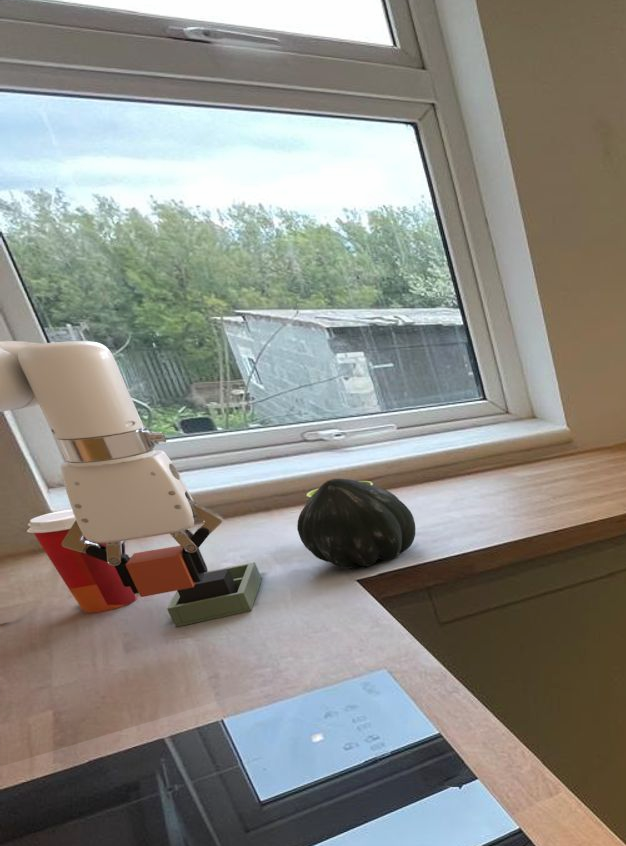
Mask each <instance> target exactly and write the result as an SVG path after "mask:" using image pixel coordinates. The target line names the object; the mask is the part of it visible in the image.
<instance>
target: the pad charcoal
mask: <svg viewBox="0 0 626 846" xmlns="http://www.w3.org/2000/svg"><path fill="white" fill-rule="evenodd" d="M177 591H178V593H179V595H180V598H181V600H182V602H183V604H185V603H189V602H194V601H199V600H204V599H209V598H213V597H218V596H223V595H228V594H233V593H237V591H238V589H237V586H236V584H235V582H234V580H233V577H232V575H231V573H230V571H229V569H223V570H218V571H213V572H208V573H204V577H203V579H202V581H201V582H196V583H195V585H194V587H193V588H188V589H182V590H177ZM177 591H176V592H177Z"/></svg>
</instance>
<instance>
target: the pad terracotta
mask: <svg viewBox="0 0 626 846" xmlns="http://www.w3.org/2000/svg"><path fill="white" fill-rule="evenodd" d="M182 549H183V548H182V547H181V545H175V546H170V547H165V548H158V549H157V548H156V549H151V550H145V551H140V552H139V551H138V552H134V553H133V554H132V555H131V556H130V557H131V558H130V557H129V558H130V559H129V561H128V562H127V563H126V567H127V569H128V571H129V574H130V576H131V578H132V580H133V582H134V584H135V586H136V588H137V590H138V592H139V593H138V595H139V597H140V598H145V597H150V596H155V595H160V594H166V593H170V592H171V593H172V592H177V590H182V589H188V588H193V587H194V585H195V583H196V582H194V581H193V580H192V577H191V575H190V573H189V571H188V568H187V566H186V564H185V561H184V559H183V557H182V555H183V553H184V552H183V550H182Z"/></svg>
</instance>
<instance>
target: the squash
mask: <svg viewBox="0 0 626 846" xmlns="http://www.w3.org/2000/svg"><path fill="white" fill-rule="evenodd" d="M359 481H360V480H354V479H346V478H331V479H327V480H326V481H325V482H324V483H322V485H320V486H319V487H318V488H319V489H318V488H317V489H318V490H317V491H316V492H315V493H314V494H313V495H312V496H311V497H310V498H308V500H307V501H306V503H305V504H304V507H302V510H301V511H300V513H299V516H298V519H297V525H296V526H297V527H296V529H297V532H298V536H299V539H300V540H301V543H302V544H303V546H304V547H305V548H306V549H307V550H308V551H309V552H310V553H312V555H313V556H314V557H316V558H317V559H318V560H321V561H323V562H326V563H330V564H332V565H333V566H335V567H337V568H340V569H352V568H356V567H357V566H363V567H370V566H372V565H374V564H376V562H377V560H378V559H379V560H383V561H389V560H393V559H395V558H397V557H398V556H399V554H402V553H404V552H405V551H407V550H408V549H409V548H410V547H411V546H412V544H413V543H414V541H415V538H416V523H415V522H416V521H415V518H414V515H413V513H412V512H411V510H410V509H409V508H408V507H407V505H406V504H405V503H404V502H403V501H401V500H400V499H399V498H398V497H397V496H396V495H395V494H393V493H392V492H390V491H389V490H387V489H385V488H382V487H379V486H376V485H374V484H373V485H370V484H367V483H363V482H359Z"/></svg>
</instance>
